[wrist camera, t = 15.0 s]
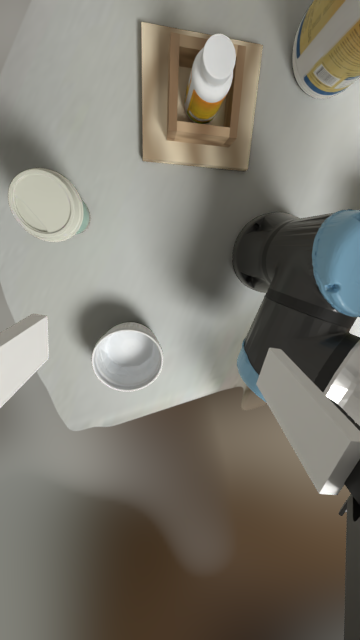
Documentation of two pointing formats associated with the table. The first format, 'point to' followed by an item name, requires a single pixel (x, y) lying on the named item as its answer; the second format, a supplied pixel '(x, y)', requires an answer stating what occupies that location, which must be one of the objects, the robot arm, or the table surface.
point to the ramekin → (127, 357)
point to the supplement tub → (328, 48)
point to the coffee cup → (47, 205)
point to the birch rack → (168, 102)
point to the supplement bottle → (210, 79)
